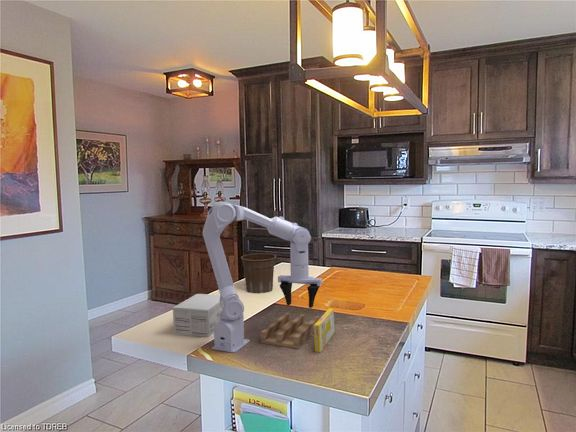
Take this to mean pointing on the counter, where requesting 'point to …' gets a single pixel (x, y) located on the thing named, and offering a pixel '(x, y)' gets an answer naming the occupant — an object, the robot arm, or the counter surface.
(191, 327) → the supplement box
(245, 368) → the counter surface
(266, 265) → the plant pot
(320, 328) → the candy box
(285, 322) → the rack
